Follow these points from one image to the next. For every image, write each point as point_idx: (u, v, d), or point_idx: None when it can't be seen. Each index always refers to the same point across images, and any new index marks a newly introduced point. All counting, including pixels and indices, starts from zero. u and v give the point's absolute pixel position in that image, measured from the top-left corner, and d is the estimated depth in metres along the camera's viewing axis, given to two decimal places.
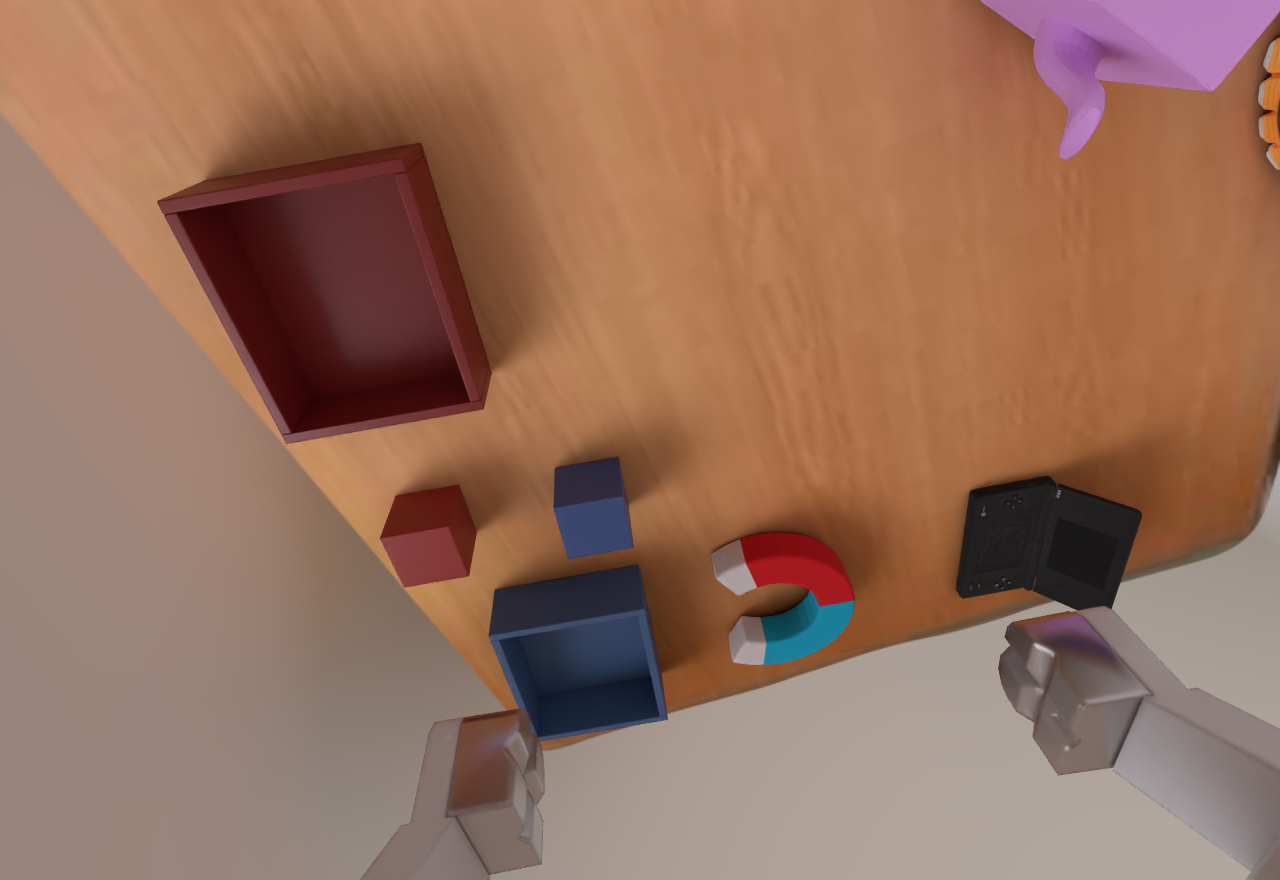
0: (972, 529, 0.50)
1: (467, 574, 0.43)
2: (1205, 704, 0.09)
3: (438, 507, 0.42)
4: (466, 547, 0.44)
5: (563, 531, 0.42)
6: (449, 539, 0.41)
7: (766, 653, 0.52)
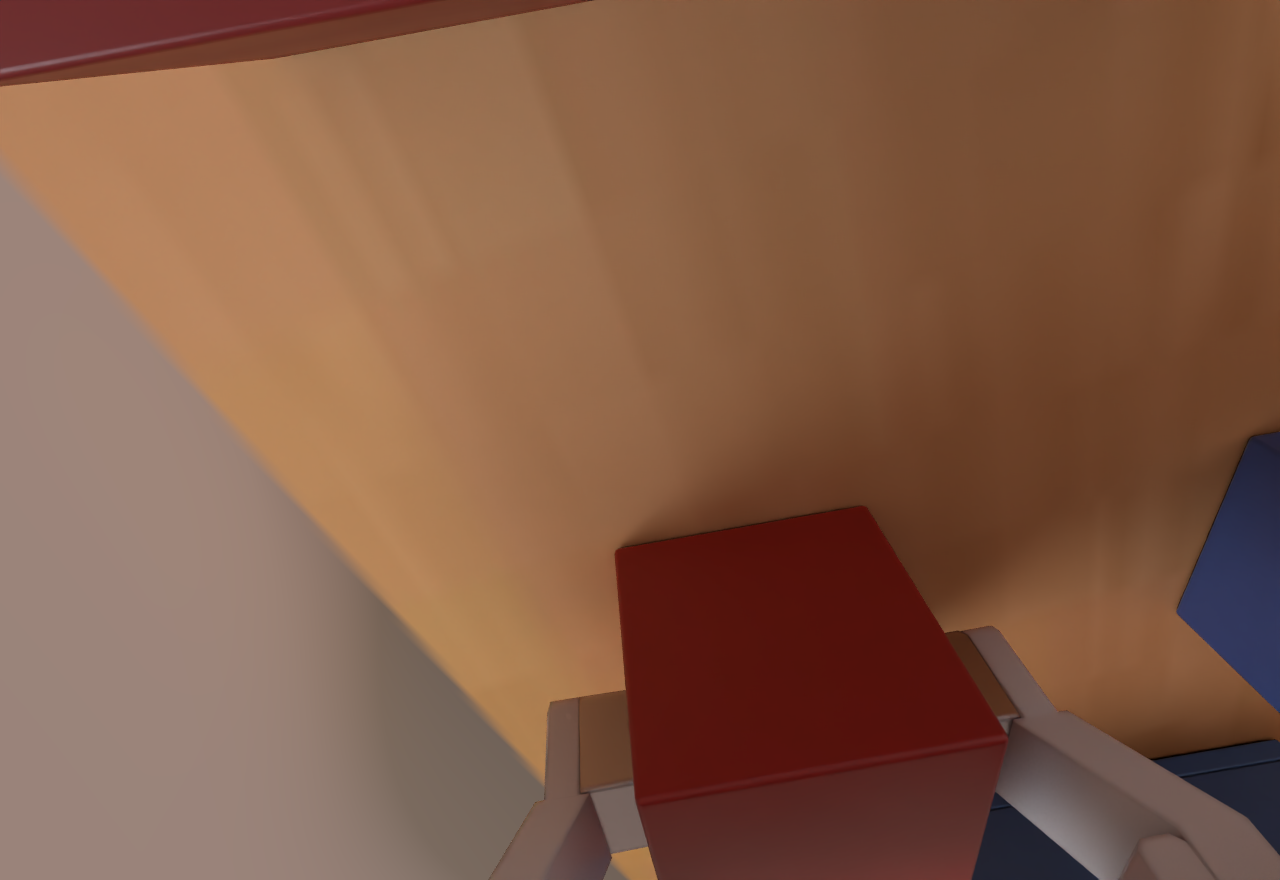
0: None
1: None
2: (1070, 727, 0.09)
3: (854, 609, 0.09)
4: None
5: None
6: (978, 790, 0.08)
7: None
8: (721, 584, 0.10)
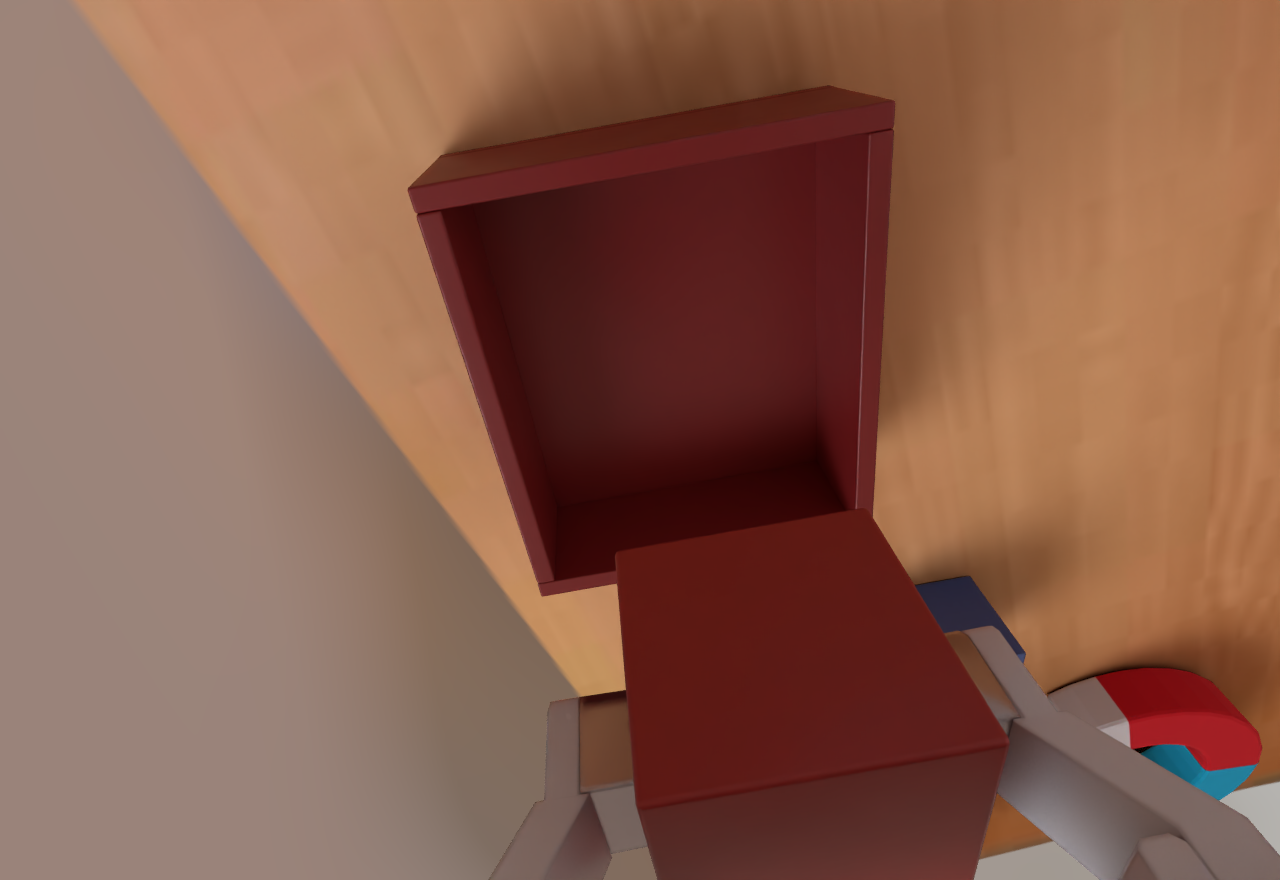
0: None
1: None
2: (1071, 727, 0.09)
3: (856, 612, 0.09)
4: None
5: None
6: (980, 793, 0.08)
7: None
8: (722, 586, 0.10)
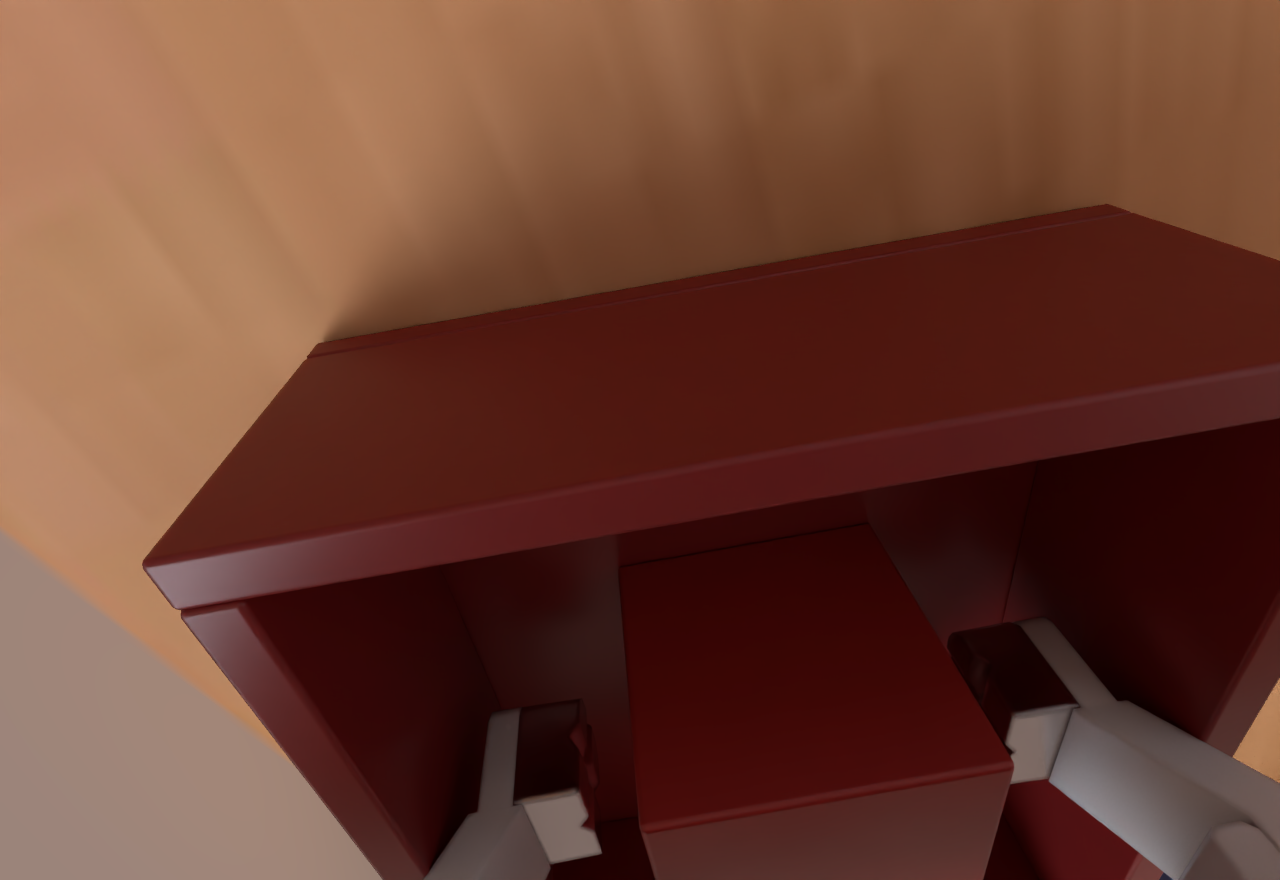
0: None
1: None
2: (1132, 716, 0.09)
3: (859, 631, 0.09)
4: None
5: None
6: (985, 815, 0.08)
7: None
8: (725, 604, 0.10)
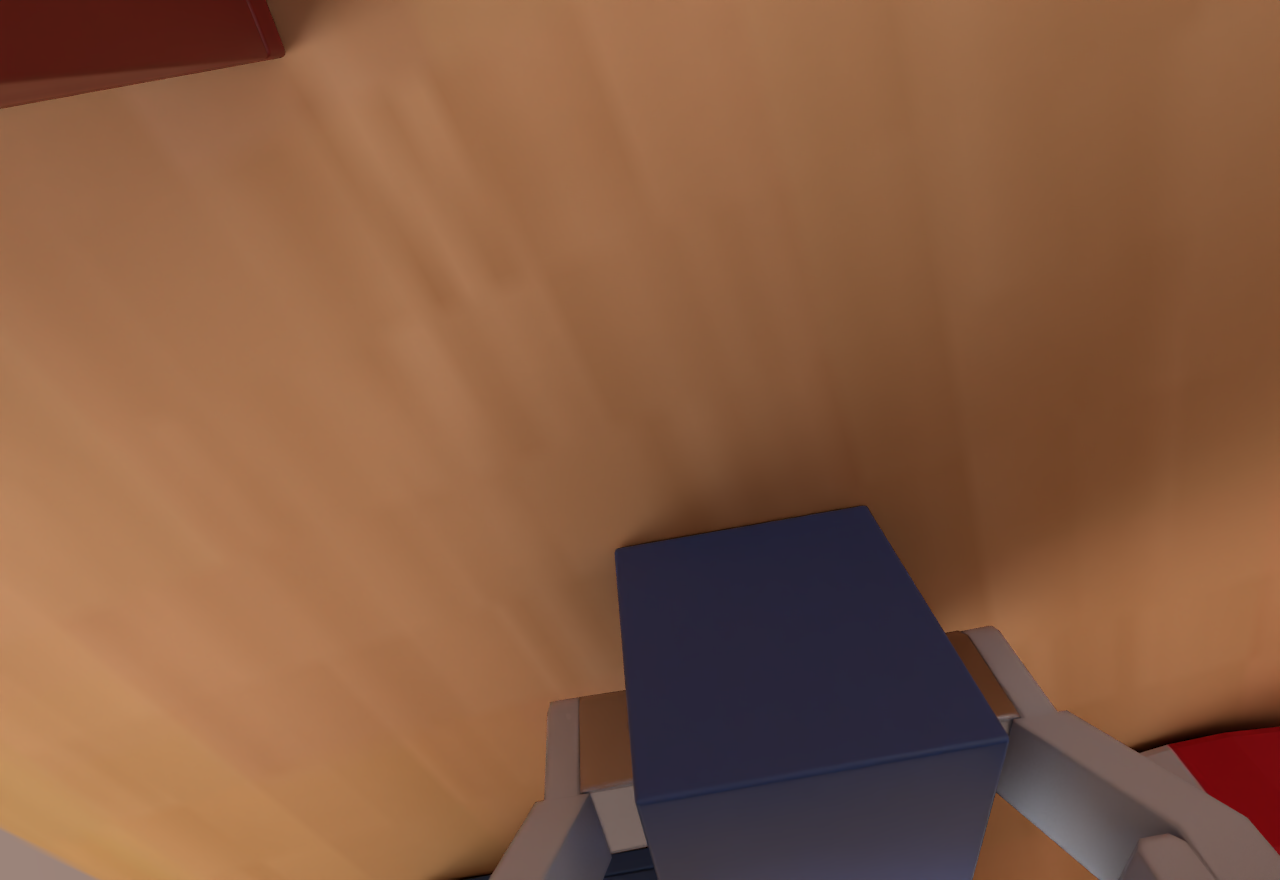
0: None
1: None
2: (1070, 727, 0.09)
3: None
4: None
5: None
6: None
7: None
8: None
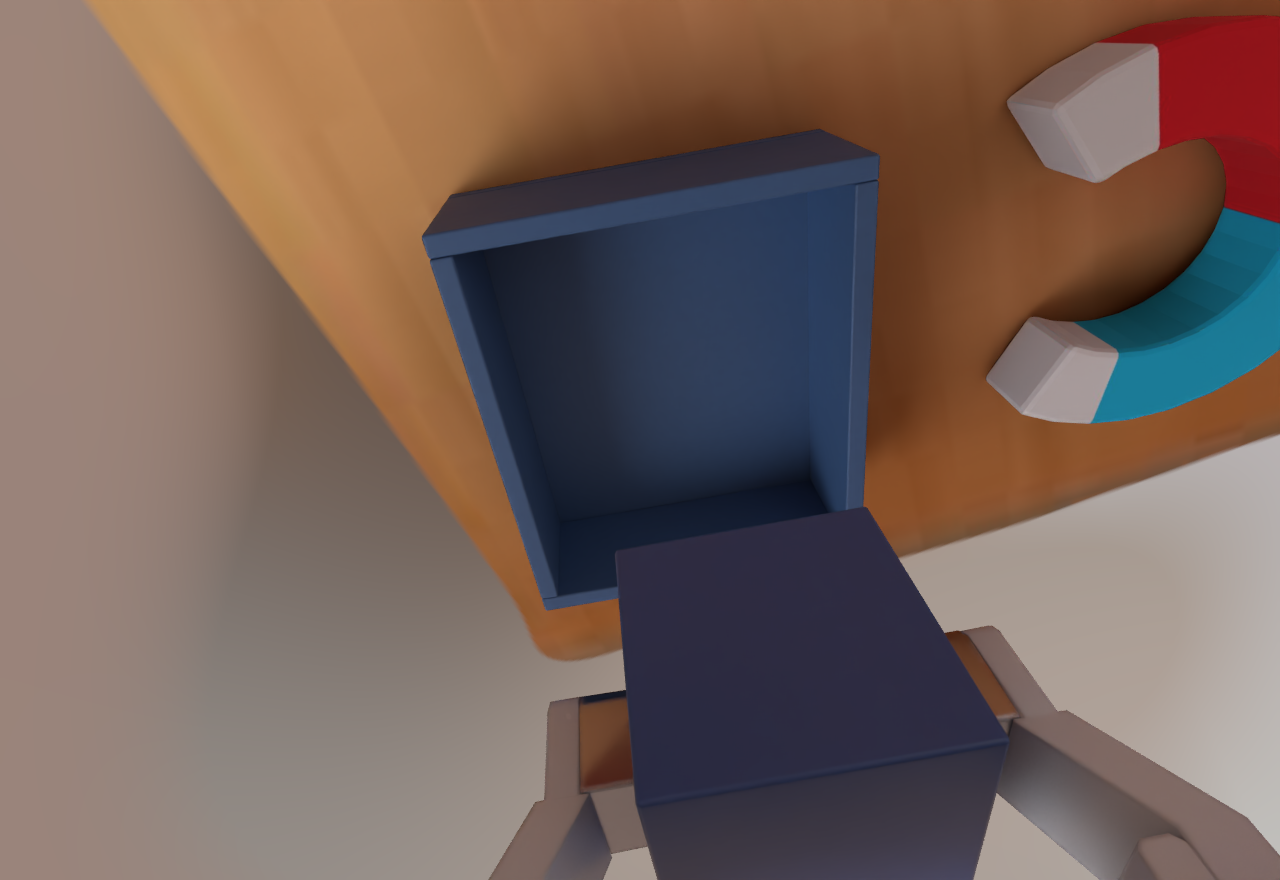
0: None
1: None
2: (1070, 727, 0.09)
3: None
4: None
5: None
6: None
7: (1109, 386, 0.22)
8: None
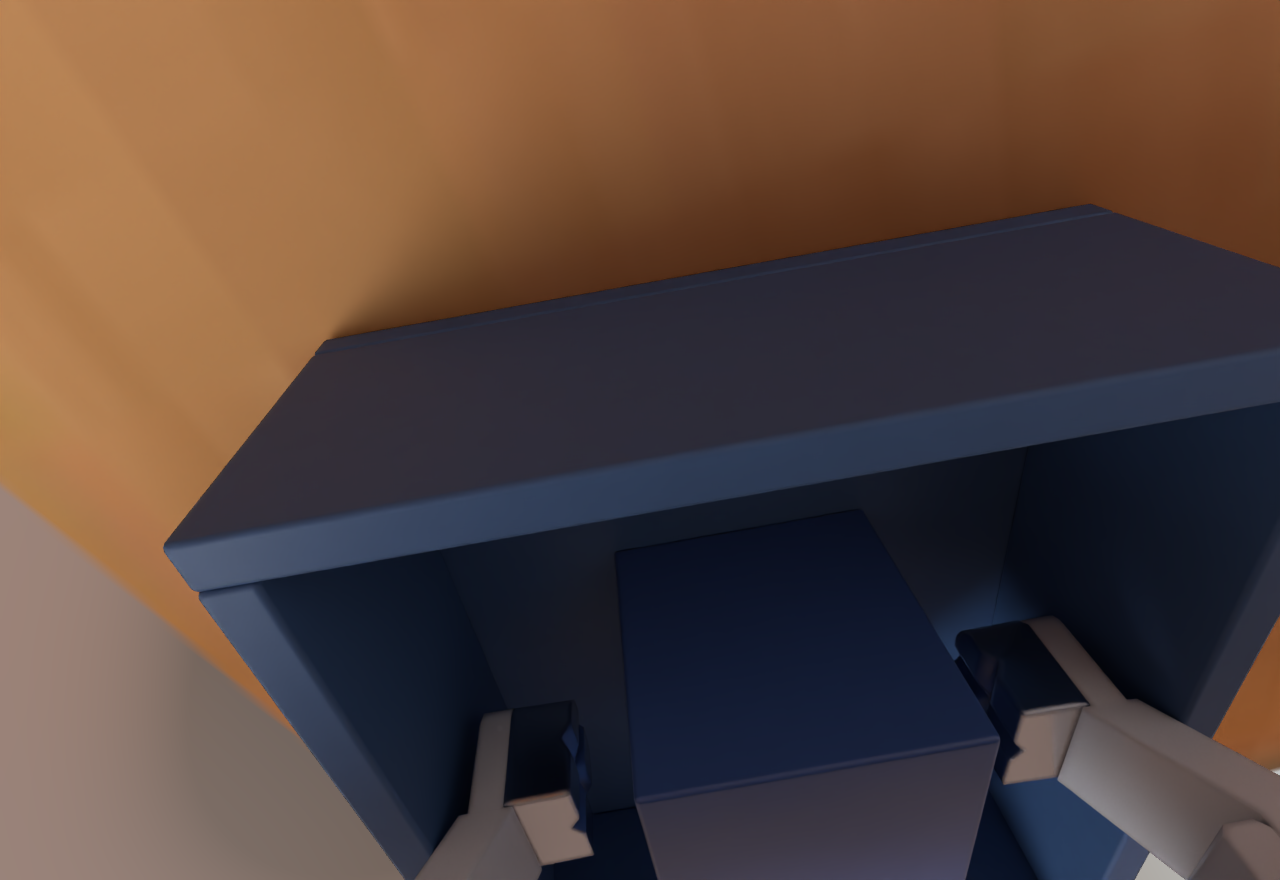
0: None
1: None
2: (1141, 715, 0.09)
3: None
4: None
5: (671, 879, 0.09)
6: None
7: None
8: None
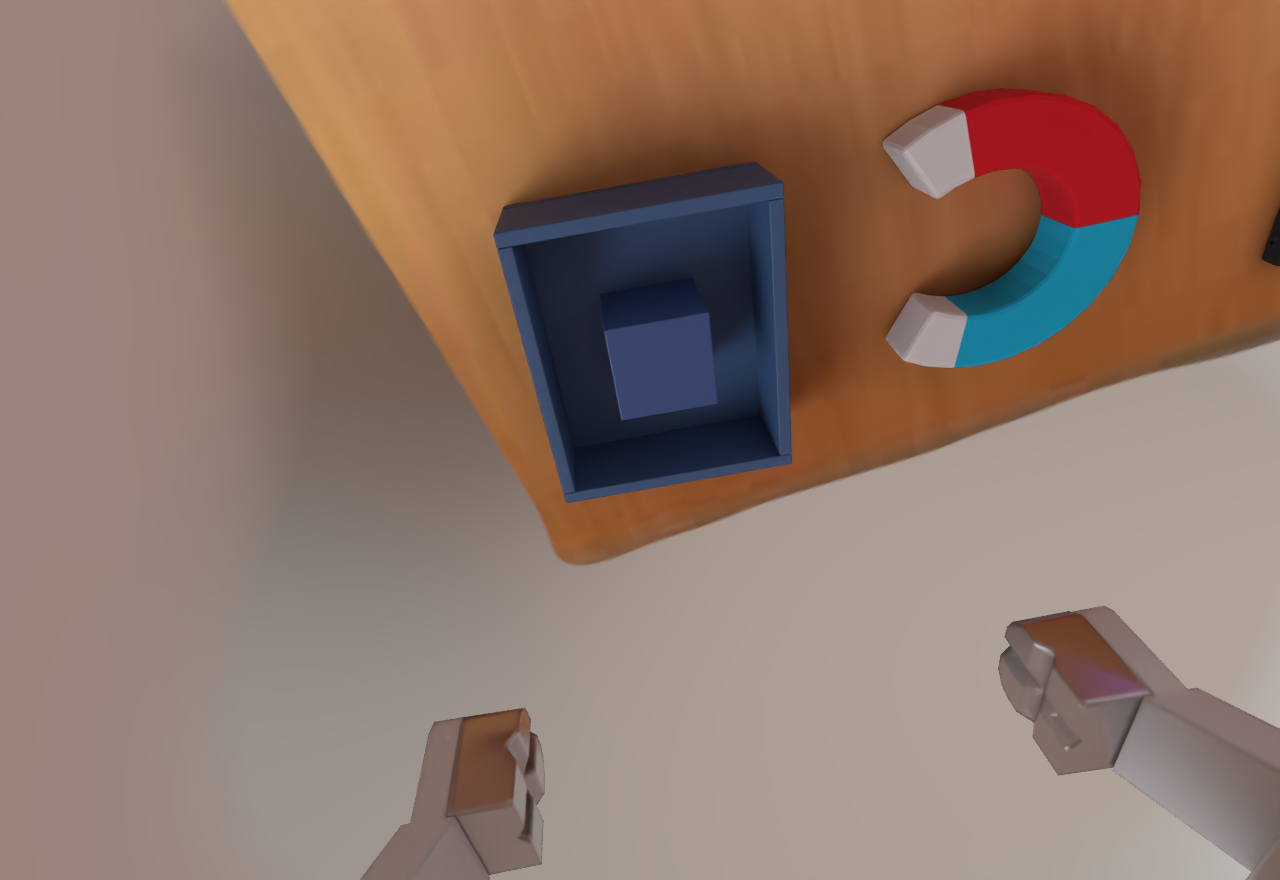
0: None
1: None
2: (1205, 704, 0.09)
3: None
4: None
5: (616, 373, 0.28)
6: None
7: (963, 340, 0.31)
8: None
